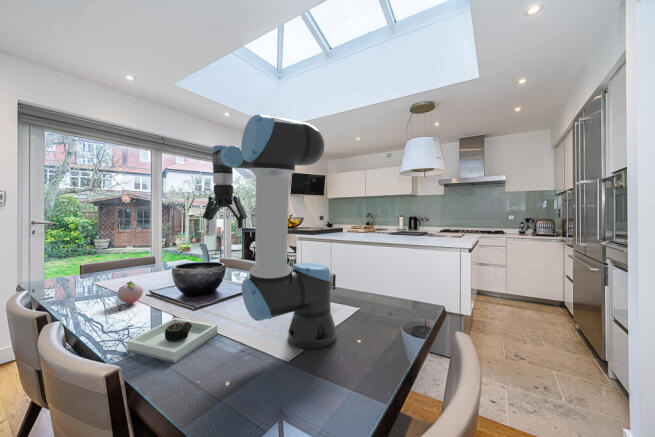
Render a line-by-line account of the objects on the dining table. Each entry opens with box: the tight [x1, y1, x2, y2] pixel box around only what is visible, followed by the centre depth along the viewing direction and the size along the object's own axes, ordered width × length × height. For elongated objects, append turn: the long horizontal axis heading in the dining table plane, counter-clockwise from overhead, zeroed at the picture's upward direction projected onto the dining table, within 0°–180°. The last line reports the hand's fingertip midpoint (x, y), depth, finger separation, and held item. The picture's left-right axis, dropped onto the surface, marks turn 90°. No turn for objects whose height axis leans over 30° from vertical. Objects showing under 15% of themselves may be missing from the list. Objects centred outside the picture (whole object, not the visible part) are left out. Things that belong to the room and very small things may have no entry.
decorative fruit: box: [117, 280, 144, 305], centre depth 111 cm, size 9×8×10 cm
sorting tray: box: [126, 317, 219, 364], centre depth 81 cm, size 18×16×3 cm
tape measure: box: [165, 322, 192, 341], centre depth 82 cm, size 7×7×4 cm
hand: (225, 235), depth 110 cm, fingers open, 13 cm apart
